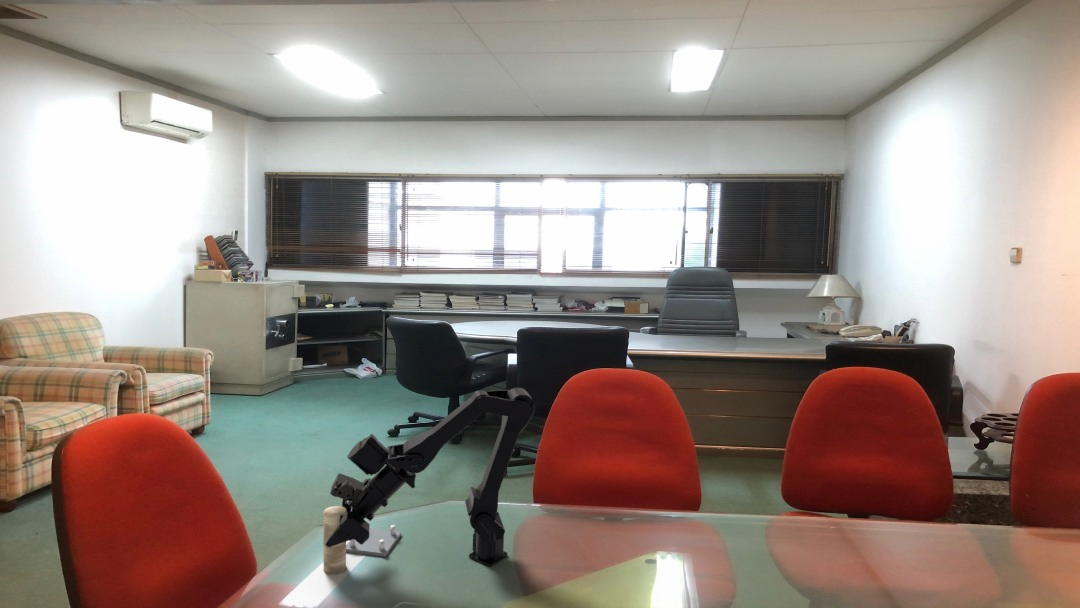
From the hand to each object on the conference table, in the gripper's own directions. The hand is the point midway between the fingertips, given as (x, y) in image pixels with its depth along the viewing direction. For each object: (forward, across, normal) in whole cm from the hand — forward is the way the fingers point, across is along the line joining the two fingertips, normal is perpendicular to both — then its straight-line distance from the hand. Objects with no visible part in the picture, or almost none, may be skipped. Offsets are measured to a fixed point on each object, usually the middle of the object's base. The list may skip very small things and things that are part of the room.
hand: (328, 539), depth 134 cm
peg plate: (-2, -9, +11) cm, 15 cm away
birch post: (+4, 0, +6) cm, 7 cm away
